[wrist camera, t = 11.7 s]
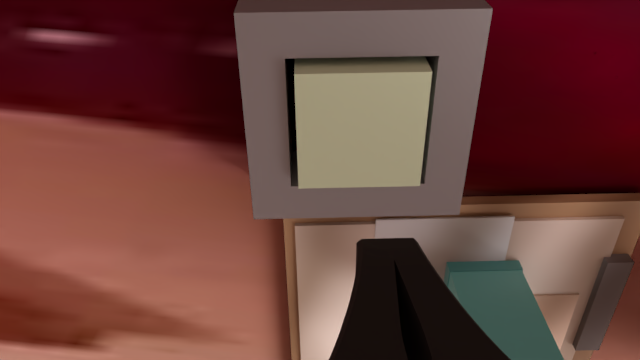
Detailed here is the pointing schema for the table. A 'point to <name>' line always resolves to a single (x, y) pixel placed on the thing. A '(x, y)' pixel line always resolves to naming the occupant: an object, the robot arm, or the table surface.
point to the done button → (361, 120)
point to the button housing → (359, 41)
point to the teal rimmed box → (503, 307)
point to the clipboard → (477, 245)
